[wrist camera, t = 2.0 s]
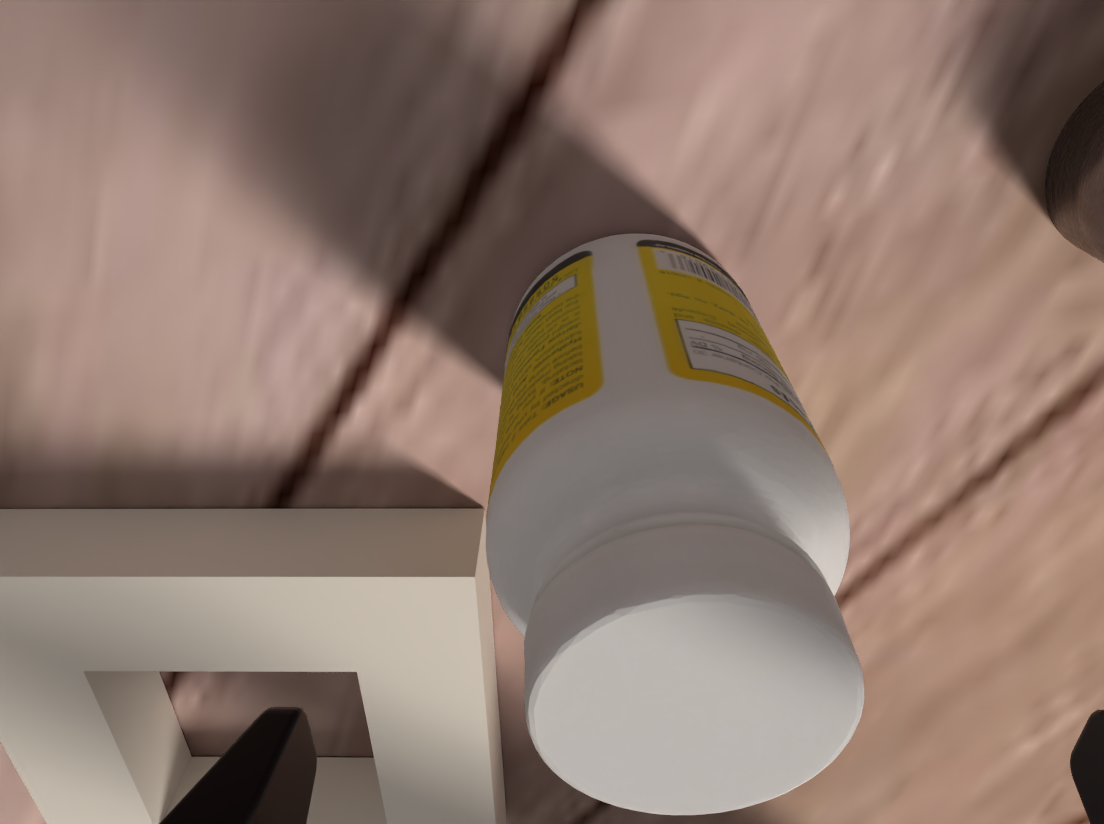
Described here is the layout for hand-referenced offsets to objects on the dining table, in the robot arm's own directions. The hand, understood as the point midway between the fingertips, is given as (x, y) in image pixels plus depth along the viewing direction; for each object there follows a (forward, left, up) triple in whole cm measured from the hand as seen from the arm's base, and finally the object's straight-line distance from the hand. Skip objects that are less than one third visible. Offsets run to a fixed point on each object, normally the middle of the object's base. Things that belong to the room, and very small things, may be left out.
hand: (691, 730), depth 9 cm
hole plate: (+10, +11, -10) cm, 18 cm away
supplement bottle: (0, 0, -10) cm, 10 cm away
